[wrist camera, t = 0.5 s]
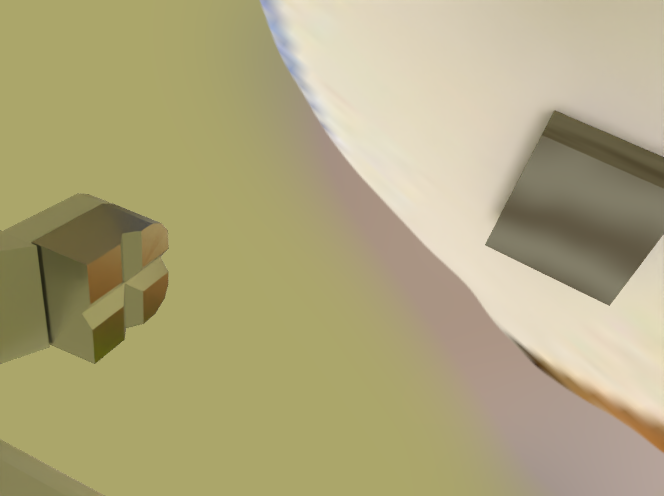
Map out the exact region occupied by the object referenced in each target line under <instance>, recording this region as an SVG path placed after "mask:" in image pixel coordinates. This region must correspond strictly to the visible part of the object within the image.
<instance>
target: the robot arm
mask: <svg viewBox="0 0 664 496" xmlns="http://www.w3.org/2000/svg"><path fill="white" fill-rule="evenodd" d="M167 249H168V230H167V229H166V228H165V227H164V226H163V225H162V224H161V223H159V222H157V221H154V220H152V219H149V218H147V217H145V216H142V215H140V214H137V213H135V212H132V211H130V210H127V209H125V208H122V207H120V206H118V205H115V204H111V203H109V202H107V201H104V200H102V199H99V198H97V197H94V196H92V195H89V194H76V195H74V196H72V197H70V198H68V199H66V200H64V201H62V202H60V203H58V204H56V205H54V206H52V207H50V208H48V209H46V210H44V211H42V212H40V213H38V214H36V215H34V216H32V217H30V218H28V219H26V220H24V221H22V222H20V223H18V224H16V225H14V226H12V227H10V228H8V229H6V230H4V231H1V230H0V364H2V363H5V362H8V361H11V360H13V359H16V358H19V357H22V356H25V355H28V354H31V353H34V352H37V351H40V350H43V349H46V348H49V344H50V345H52V346H55V347H57V348H59V349H61V350H64V351H66V352H68V353H71V354H73V355H76V356H78V357H80V358H82V359H85V360H87V361H89V362H91V363H94V364H95V363H97V362H98V361H99V360H100V359H101V358H103V357H104V356H105V355H106V354H108V353H109V352H110V351H111V350H113V349H114V348H115V347H116V346H117V345H119V344H120V343H121V342H122V341H123V340H124V339H125V332H126V328H129V327H133V326H136V325H140V324H144V323H145V322H146V321H147V320H149V319H150V318H151V317H152V316H153V315H154V314H155V313H156V312H157V310H158V308H159V307H160V305H161V303H162V302H163V300H164V299H165V295H166V291H167V287H168V270H167V268H166V266H165V264H164V263H163V261H162V259H161V256H162V255H163V253H164V252H166V251H167ZM0 496H104V495H103V494H101V493H99V492H97V491H95V490H93V489H92V488H90V487H88V486H86V485H84V484H82V483H80V482H79V481H77V480H75V479H73V478H71V477H69V476H67V475H66V474H63V473H62V472H60V471H58V470H56V469H54V468H53V467H51V466H49V465H47V464H45V463H43V462H41V461H40V460H38V459H36V458H34V457H32V456H30V455H28V454H27V453H25V452H23V451H21V450H19V449H17V448H16V447H13V446H12V445H10V444H8V443H6V442H4V441H3V440H1V439H0Z"/></svg>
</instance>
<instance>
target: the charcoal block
mask: <svg viewBox="0 0 664 496" xmlns="http://www.w3.org/2000/svg"><path fill="white" fill-rule="evenodd" d="M663 234H664V157H662V156H659V155H657V154H655V153H652V152H650V151H648V150H645V149H643V148H641V147H639V146H636V145H634V144H632V143H629V142H627V141H625V140H622V139H620V138H618V137H615V136H613V135H611V134H608V133H606V132H604V131H601V130H599V129H597V128H594V127H592V126H590V125H587V124H585V123H583V122H580V121H578V120H576V119H573V118H571V117H569V116H567V115H564V114H562V113H560V112H557V111H554V113H553V115H552V117H551V118H550V120H549V122H548V124H547V126H546V128H545V130H544V132H543V134H542V136H541V138H540V140H539V142H538V144H537V145H536V147H535V149H534V151H533V153H532V155H531V157H530V159H529V161H528V163H527V165H526V167H525V169H524V171H523V172H522V174H521V176H520V178H519V180H518V182H517V184H516V186H515V188H514V190H513V192H512V194H511V196H510V198H509V200H508V201H507V203H506V205H505V207H504V209H503V211H502V213H501V215H500V217H499V219H498V221H497V223H496V225H495V227H494V229H493V230H492V232H491V234H490V236H489V238H488V240H487V242H486V244H485V245H486V246H488V247H490V248H492V249H494V250H496V251H498V252H500V253H502V254H504V255H507V256H509V257H511V258H513V259H515V260H517V261H519V262H521V263H523V264H525V265H527V266H529V267H531V268H533V269H535V270H537V271H539V272H541V273H543V274H545V275H547V276H550V277H552V278H554V279H556V280H558V281H560V282H562V283H564V284H566V285H568V286H570V287H572V288H574V289H576V290H578V291H580V292H582V293H584V294H586V295H588V296H590V297H593V298H595V299H597V300H599V301H601V302H603V303H605V304H607V305H609V306H610V304H611V303H612V302H613V300H614V299H615V298H616V296H617V295H618V294H619V292H620V291H621V290H622V288H623V287H624V286H625V284H626V283H627V282H628V280H629V279H630V278H631V276H632V275H633V274H634V273H635V271H636V270H637V269H638V267H639V266H640V265H641V263H642V262H643V261H644V259H645V258H646V257H647V255H648V254H649V253H650V251H651V250H652V249H653V247H654V246H655V245H656V243H657V242H658V241H659V239H660V238H661V237H662V235H663Z"/></svg>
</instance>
